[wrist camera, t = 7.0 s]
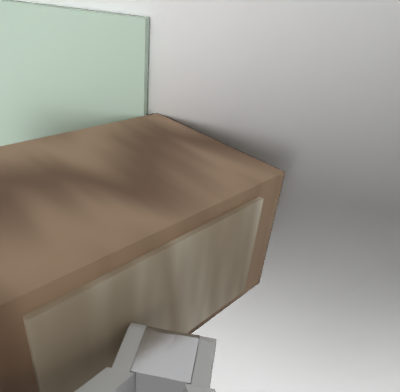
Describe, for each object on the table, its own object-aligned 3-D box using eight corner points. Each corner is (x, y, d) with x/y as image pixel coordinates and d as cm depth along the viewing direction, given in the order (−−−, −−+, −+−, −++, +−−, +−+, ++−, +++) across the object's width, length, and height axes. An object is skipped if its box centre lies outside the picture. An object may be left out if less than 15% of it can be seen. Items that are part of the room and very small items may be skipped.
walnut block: (289, 174, 15) (-56, 339, 7) (262, 285, 18) (-1, 484, 10) (157, 113, 20) (-137, 175, 12) (153, 209, 23) (-83, 308, 15)
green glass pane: (149, 17, 17) (145, 18, 17) (143, 265, 25) (140, 271, 25) (-140, -19, 19) (-152, -19, 18) (-62, 225, 27) (-69, 230, 26)
